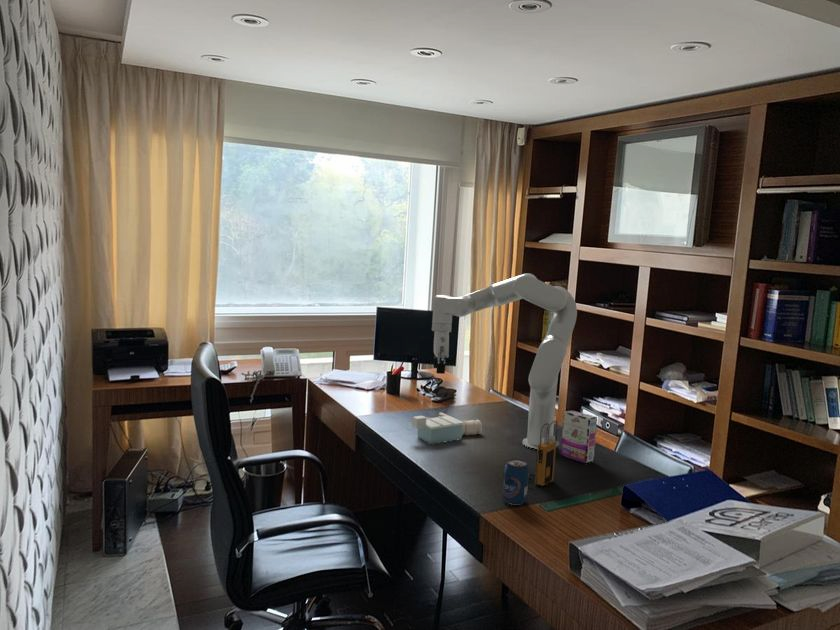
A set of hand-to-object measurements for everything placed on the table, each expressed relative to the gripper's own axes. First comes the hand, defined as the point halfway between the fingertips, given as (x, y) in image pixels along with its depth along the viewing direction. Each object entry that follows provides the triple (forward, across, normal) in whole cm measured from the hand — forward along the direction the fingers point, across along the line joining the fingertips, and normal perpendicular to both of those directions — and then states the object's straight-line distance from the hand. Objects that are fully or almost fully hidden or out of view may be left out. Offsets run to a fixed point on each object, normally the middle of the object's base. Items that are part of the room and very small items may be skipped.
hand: (439, 370), depth 245 cm
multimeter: (+24, -50, -26) cm, 61 cm away
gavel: (+25, +9, -9) cm, 28 cm away
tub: (+24, -9, -1) cm, 26 cm away
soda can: (+24, -66, -15) cm, 72 cm away
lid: (+18, -10, +1) cm, 21 cm away
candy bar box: (+24, -30, -47) cm, 61 cm away
